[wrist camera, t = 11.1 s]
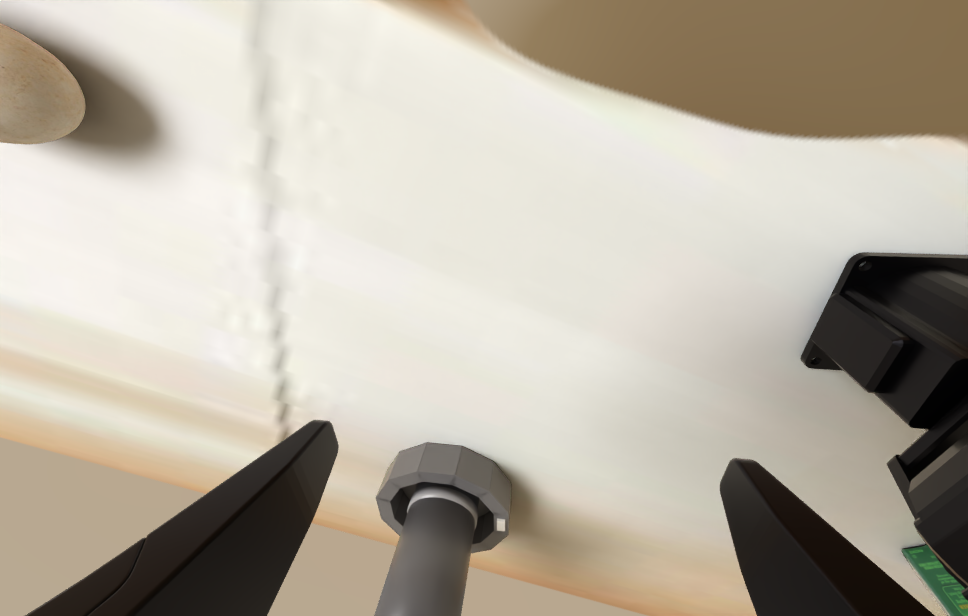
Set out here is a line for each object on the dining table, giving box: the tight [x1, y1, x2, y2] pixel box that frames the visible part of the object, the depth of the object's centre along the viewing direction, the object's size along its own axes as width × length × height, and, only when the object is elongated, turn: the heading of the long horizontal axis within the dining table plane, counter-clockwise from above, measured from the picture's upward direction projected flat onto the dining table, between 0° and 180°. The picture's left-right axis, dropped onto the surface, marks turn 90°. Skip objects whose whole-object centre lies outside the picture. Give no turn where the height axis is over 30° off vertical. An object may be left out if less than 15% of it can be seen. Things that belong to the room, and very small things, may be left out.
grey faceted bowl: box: [376, 443, 511, 553], centre depth 30 cm, size 10×10×3 cm
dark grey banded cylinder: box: [374, 482, 479, 616], centre depth 25 cm, size 5×5×13 cm
